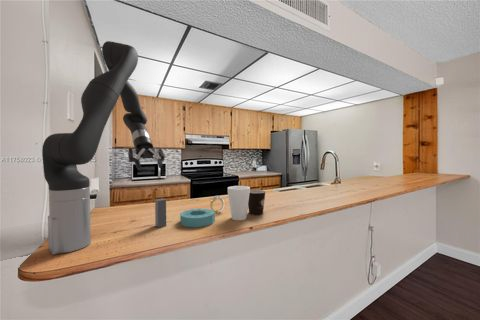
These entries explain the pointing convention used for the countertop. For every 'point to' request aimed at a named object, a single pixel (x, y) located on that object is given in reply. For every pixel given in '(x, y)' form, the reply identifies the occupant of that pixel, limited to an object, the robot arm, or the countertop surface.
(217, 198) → the bracelet
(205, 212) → the teal ring
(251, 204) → the coffee mug
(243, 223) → the countertop surface
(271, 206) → the countertop surface
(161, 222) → the gray rectangular block
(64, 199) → the robot arm
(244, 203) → the foam cup
